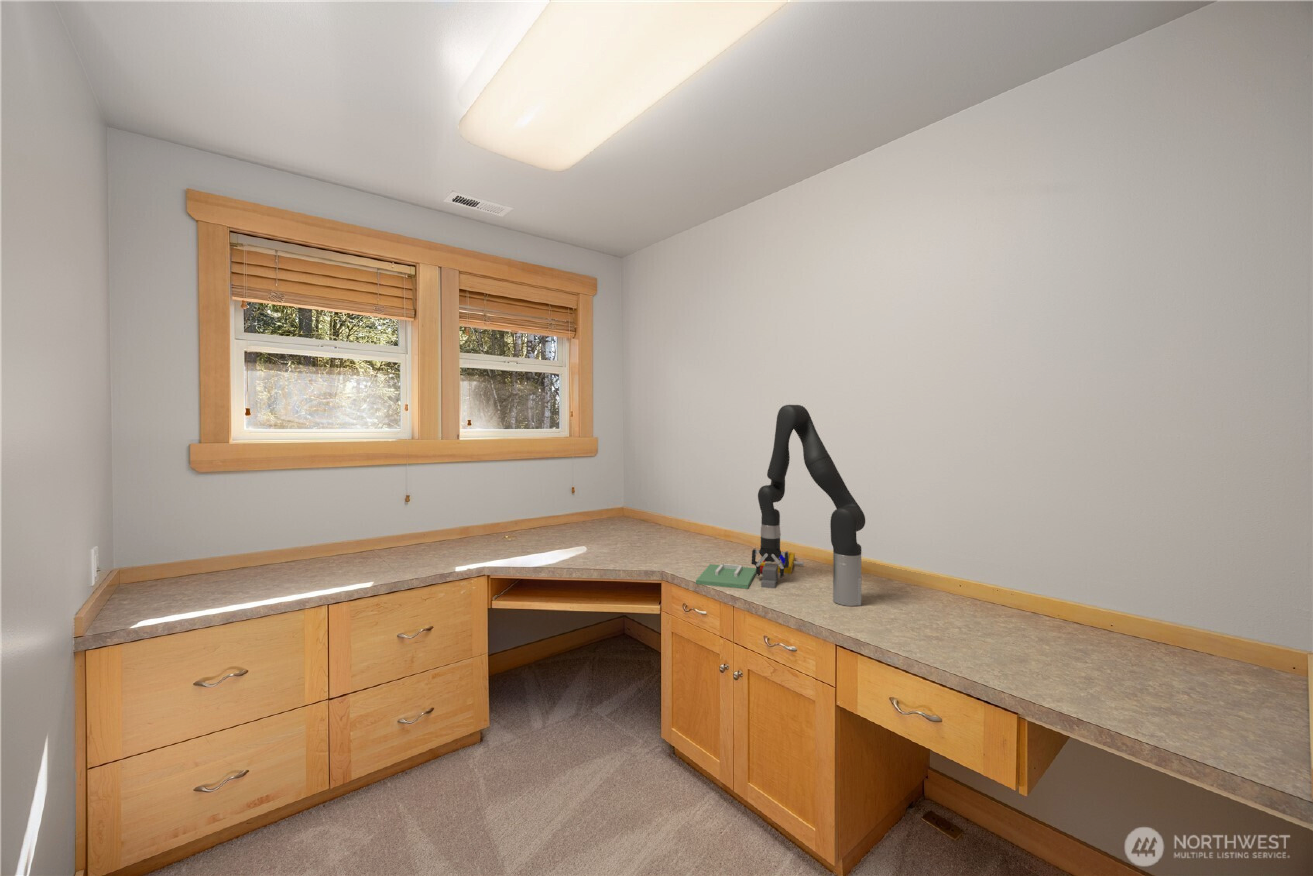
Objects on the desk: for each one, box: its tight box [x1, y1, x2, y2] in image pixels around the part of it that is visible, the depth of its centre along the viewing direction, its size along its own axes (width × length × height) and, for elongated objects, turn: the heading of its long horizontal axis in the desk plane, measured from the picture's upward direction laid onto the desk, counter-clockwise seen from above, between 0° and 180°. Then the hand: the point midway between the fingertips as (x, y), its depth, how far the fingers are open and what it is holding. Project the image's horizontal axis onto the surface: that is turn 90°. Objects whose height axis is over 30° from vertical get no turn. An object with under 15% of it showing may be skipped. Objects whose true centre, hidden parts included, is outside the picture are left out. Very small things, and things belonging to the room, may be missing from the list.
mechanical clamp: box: [760, 551, 805, 575], centre depth 230 cm, size 18×6×30 cm
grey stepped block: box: [760, 562, 779, 589], centre depth 206 cm, size 13×5×6 cm, turn 161°
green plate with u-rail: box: [695, 563, 757, 590], centre depth 213 cm, size 20×24×3 cm
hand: (769, 576), depth 208 cm, fingers open, 8 cm apart
